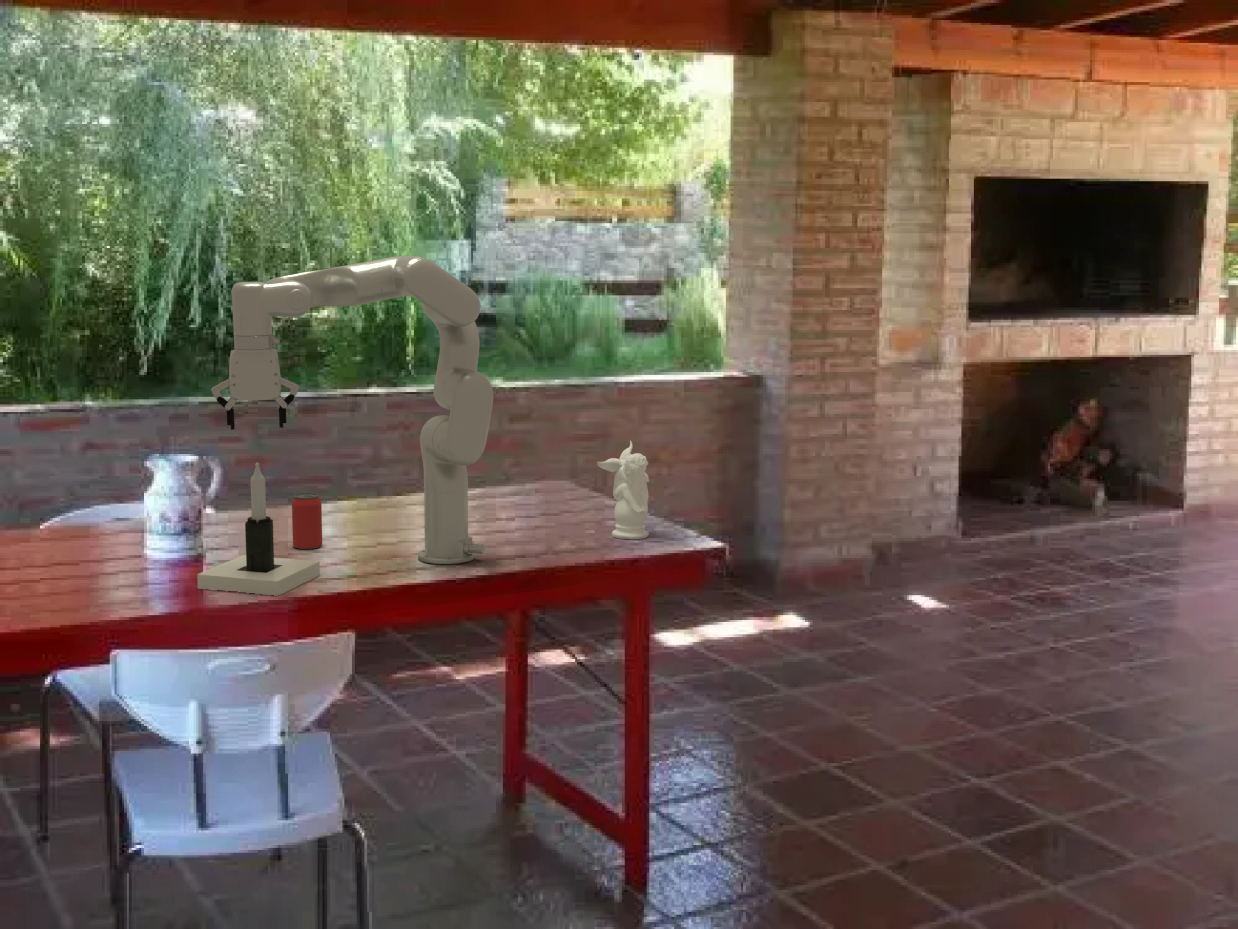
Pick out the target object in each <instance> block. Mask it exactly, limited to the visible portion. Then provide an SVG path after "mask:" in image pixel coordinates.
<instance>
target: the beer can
mask: <svg viewBox="0 0 1238 929" xmlns="http://www.w3.org/2000/svg"><path fill="white" fill-rule="evenodd" d="M322 512H323V511H322V501H321V499H320V495H319V494H318V493H317V492H315V493H314V492H301V493H300V492H299V493H296V494H294V495H293V499H292V503H291V523H292V526H291V527H292V546H293V548H295V549H297V548H298V550H303V549H309V550H315V548H316V549H319V548H320V547H322V546H323V518H322V516H323V514H322Z"/></svg>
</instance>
